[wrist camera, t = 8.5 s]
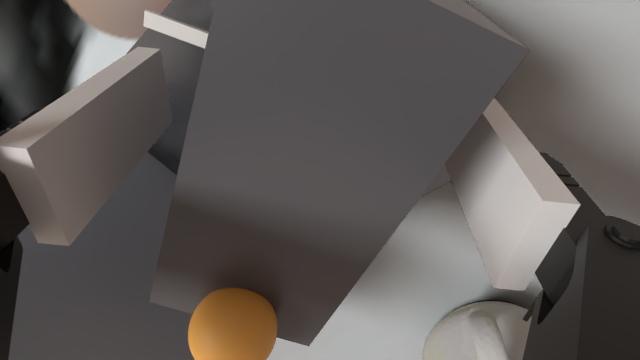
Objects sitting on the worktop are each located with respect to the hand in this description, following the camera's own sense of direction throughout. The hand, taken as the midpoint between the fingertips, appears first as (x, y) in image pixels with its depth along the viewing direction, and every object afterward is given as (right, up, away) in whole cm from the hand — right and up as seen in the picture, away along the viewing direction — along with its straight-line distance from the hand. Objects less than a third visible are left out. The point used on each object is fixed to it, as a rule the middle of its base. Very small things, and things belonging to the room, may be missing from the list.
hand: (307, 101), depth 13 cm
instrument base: (-3, 0, +7) cm, 7 cm away
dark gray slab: (0, +1, +2) cm, 2 cm away
